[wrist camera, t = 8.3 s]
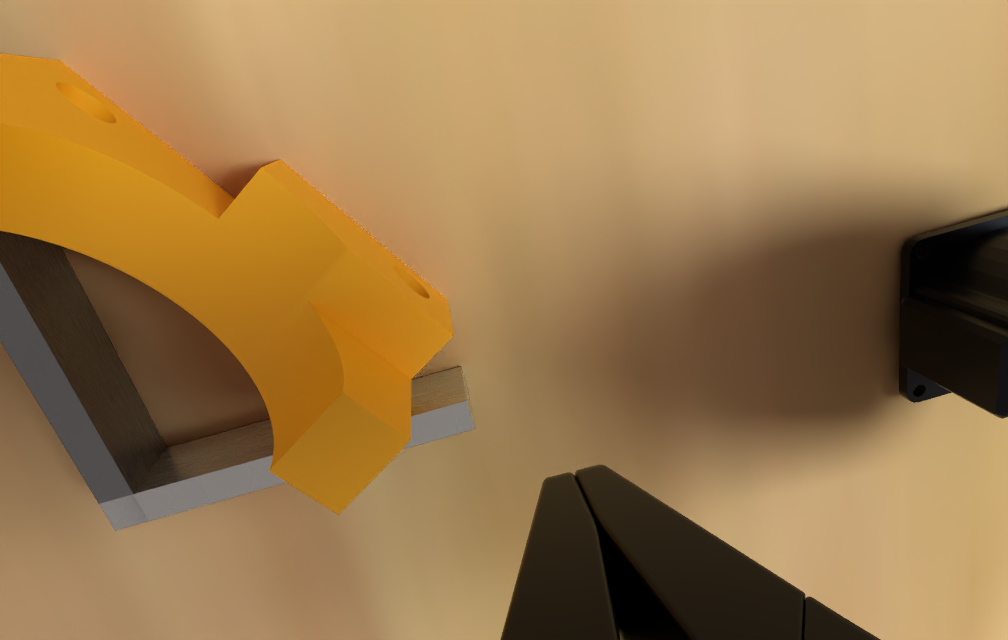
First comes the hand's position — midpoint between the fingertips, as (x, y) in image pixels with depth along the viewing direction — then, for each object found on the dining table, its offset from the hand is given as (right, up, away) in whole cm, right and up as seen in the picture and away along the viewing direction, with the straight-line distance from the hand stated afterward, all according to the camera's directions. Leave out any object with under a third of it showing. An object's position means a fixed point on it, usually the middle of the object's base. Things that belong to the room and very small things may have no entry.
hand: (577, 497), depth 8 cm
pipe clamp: (-9, +5, +10) cm, 14 cm away
